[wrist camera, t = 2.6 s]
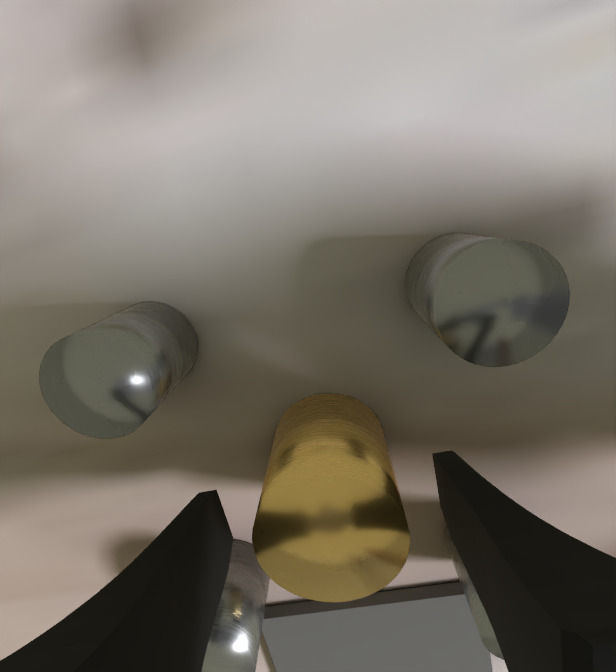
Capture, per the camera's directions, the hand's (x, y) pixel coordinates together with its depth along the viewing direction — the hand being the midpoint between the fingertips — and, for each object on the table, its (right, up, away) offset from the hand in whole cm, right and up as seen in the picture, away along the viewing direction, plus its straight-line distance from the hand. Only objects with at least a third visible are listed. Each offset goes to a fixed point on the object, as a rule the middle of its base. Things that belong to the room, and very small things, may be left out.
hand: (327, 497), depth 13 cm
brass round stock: (0, +1, +3) cm, 3 cm away
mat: (+3, -11, +7) cm, 13 cm away
